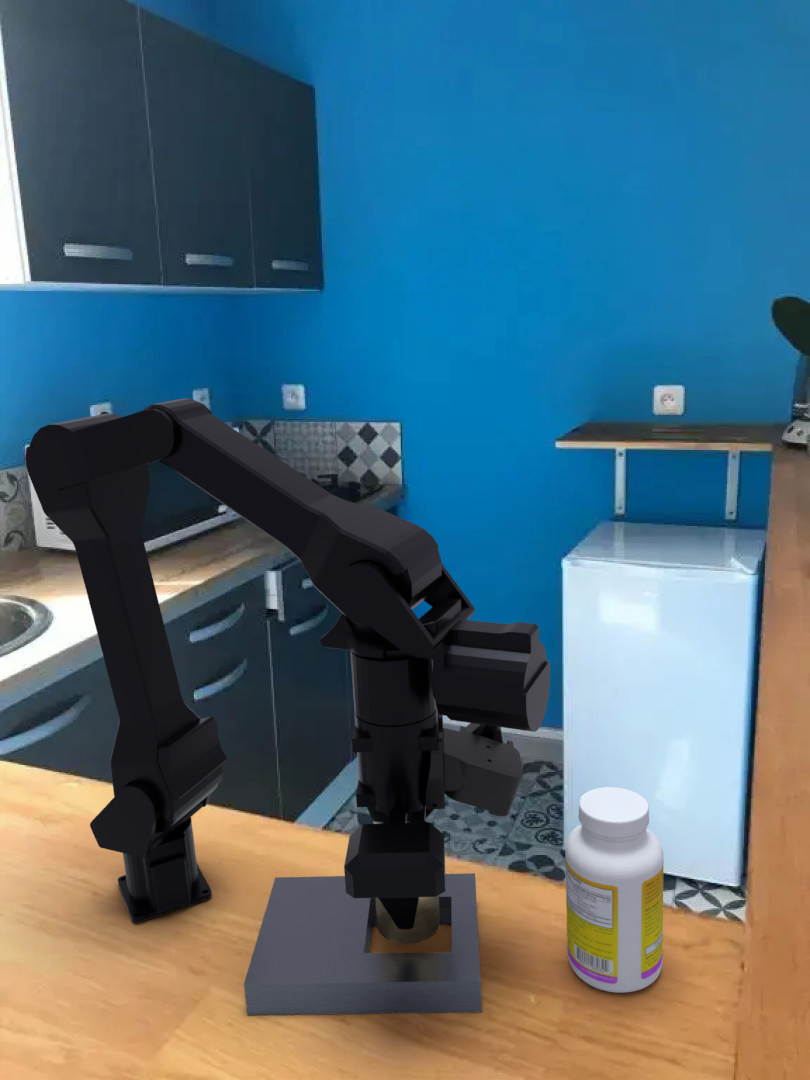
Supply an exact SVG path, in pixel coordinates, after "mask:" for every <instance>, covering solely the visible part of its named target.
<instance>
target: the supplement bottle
mask: <svg viewBox="0 0 810 1080" xmlns="http://www.w3.org/2000/svg"><path fill="white" fill-rule="evenodd" d="M578 821H579V822H580V824H578V825H577V826H576V827H575V828H573V830H572V831H571V832H570V833H569V835H568V837H567V839H566V842H565V848H564V849H565V850H564V851H565V852H564V853H565V856H564V858H565V861H564V862H565V895H566V896H565V897H566V899H565V901H566V905H565V907H566V944H567V945H566V946H567V948H566V949H567V958H568V962H569V964H570V967H571V969H572V970H573V972H574V973H575V974H576V975H577V976H578V977H579V979H581V980H582V981H583V982H585V983H586V984H588V985H589V986H591V987H594V989H595V988H596V989H598V990H601V991H604V992H609V993H617V994H618V993H620V994H621V993H631V992H636V991H641V990H642V989H645V988H647V987H648V986H650V985H651V984H652V983H654V982H655V981H656V980H657V978H658V977H659V975H660V974H661V971H662V966H663V956H664V953H663V951H664V849H663V845H662V843H661V841H660V840H659V838H658V837H657V836H656V834H655V833H654V832H653V831H652V830H651V829H649V828H648V826H649V823H650V806H649V803H648V800H646V799H645V797H644V796H642V795H641V794H639V793H637V792H636V791H633V790H631V789H628V788H623V787H617V786H616V787H614V786H606V787H605V786H604V787H598V788H594V789H591V790H588V791H587V792H584V794H582V795H581V797H580V798H579V800H578Z"/></svg>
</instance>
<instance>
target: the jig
mask: <svg viewBox="0 0 810 1080" xmlns="http://www.w3.org/2000/svg"><path fill="white" fill-rule="evenodd" d="M269 894H270V895H269V898H268V901H267V903H266V907H265V910H264V914H263V917H262V921H261V924H260V928H259V931H258V935H257V938H256V942H255V945H254V948H253V953H252V955H251V959H250V962H249V966H248V969H247V973H246V976H245V979H244V983H243V988H244V998H245V1006H246V1015H247V1016H283V1015H285V1016H287V1015H288V1016H289V1015H291V1016H294V1015H295V1016H296V1015H298V1016H299V1015H358V1014H359V1015H362V1014H436V1013H437V1014H440V1013H441V1014H446V1013H451V1014H452V1013H454V1014H455V1013H457V1014H458V1013H482V1008H483V1007H482V988H481V986H482V985H481V983H482V981H481V965H480V961H481V960H480V944H479V943H480V941H479V924H478V922H479V921H478V907H477V906H478V905H477V904H478V903H477V883H476V873H473V872H472V873H471V872H470V873H467V872H466V873H445V892H443V893H441V894H440V895H439V912H440V926H451V951H422V952H421V951H419V952H418V951H417V952H416V951H415V952H413V951H411V952H371V951H370V950H371V949H370V948H371V943H372V941H371V940H372V934H373V927H377V913H376V899H375V898H353V897H351V896H350V895H348V894H347V893H346V886H345V875H332V876H329V875H328V876H325V875H324V876H286V877H285V876H284V877H282V876H281V877H279V876H278V877H274V880H273V884H272V887H271V890H270V893H269Z"/></svg>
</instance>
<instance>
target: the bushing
mask: <svg viewBox="0 0 810 1080" xmlns="http://www.w3.org/2000/svg"><path fill="white" fill-rule="evenodd" d="M407 823H410V821H407ZM375 899H376V913H377V926H376V927H377V930H378V932H379V934H380V935H381V936H382V937H383V938H384V939H386V940H387V941H389V942H392V943H395V944H399V945H413V944H418V943H422V942H425V941H427V940H428V939H430V938H432V937H434V935H435V934H436V933H437V932H438V931H439V928H440V926H441V925H440V912H439V895H438V896H437V897H419V901H418V906H417V911H416V917H415V922H414V927H413V928H412V929H399V928H397V926H396V925H395V923H394V922H393V920H392V918H391V917H390V915H389V914H388V912H387V911H386V909H385V908H384V906H383V905H382V903H381V902H380V900H379V898H375Z"/></svg>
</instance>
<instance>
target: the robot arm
mask: <svg viewBox="0 0 810 1080" xmlns="http://www.w3.org/2000/svg"><path fill="white" fill-rule="evenodd" d="M24 458H25V466H26V470H27V474H28V477H29V479H30V481H31V484H32V486H33V489H34V492H35V493H36V496H37V499H38V501H39V505H40V506H41V508H42V511H43V512H44V513H43V514H45V516H47V518H48V519H49V520H50V521H51V522H52V523H53V524H54V525H55V526H56V527H57V528H58V529H59V530H60V531H61V532H62V533H63V534H64V535H65V536H66V537H67V538H68V539H69V540H70V541H71V543H72V544H73V546H74V549H75V553H76V556H77V561H78V564H79V568H80V571H81V576H82V580H83V583H84V588H85V590H86V595H87V599H88V601H89V603H88V604H89V607H90V611H91V615H92V618H93V621H94V622H93V623H94V625H95V629H96V634H97V638H98V641H99V644H100V649H101V652H102V656H103V660H104V663H105V664H104V665H105V668H106V672H107V675H108V679H109V685H110V687H111V691H112V696H113V699H114V703H115V706H116V710H117V714H118V727H117V731H116V735H115V740H114V743H113V748H112V752H111V756H110V760H109V763H110V773H111V781H112V788H113V789H112V790H113V796H114V797H113V798H112V799H111V800H110V801H109V802H108V803H107V804H106V805H105V807H104V808H102V810H101V811H100V812H98V814H97V815H96V816H95V817H94V818H93V819H92V820H91V822H90V824H89V827H90V830H91V832H92V834H93V836H94V839H95V841H96V843H97V845H98V847H99V848H100V849H104V850H109V851H112V852H116V853H117V852H118V853H121V854H122V857H123V858H122V859H123V865H124V871H125V874H124V875H121V876H119V877H118V878H117V885H118V888H119V891H120V894H121V896H122V898H123V902H124V904H125V907H126V909H127V912H128V914H129V918H130V919H131V922H132V923H135V924H137V923H141V922H143V921H148V920H150V919H153V918H156V917H159V916H162V915H164V914H168V913H171V912H173V911H177V910H180V909H183V908H186V907H189V906H192V905H194V904H197V903H201V902H204V901H207V900H209V899H211V898H212V896H213V893H212V889H211V886H210V885H209V883H208V880H206V878H205V875H204V874H203V871H202V870H201V868H200V866H199V865H198V862H197V856H196V855H197V854H196V848H195V847H196V846H195V839H194V838H195V837H194V832H193V821H192V817H193V816H194V815H195V814H197V812H198V811H200V810H201V809H202V808H205V807H206V806H208V805H209V803H210V799H211V795H212V794H213V792H214V791H215V790H216V788H217V787H218V786H219V783H220V782H221V781H222V779H223V774H224V772H223V764H225V763H226V762H227V761H228V757H227V756H226V754H225V752H224V750H223V748H222V745H221V742H220V738H219V729H218V728H219V726H218V723H217V721H216V719H215V717H213V716H207V717H204V718H201V717H200V716H199V715H198V714H196V713H195V711H193V710H192V709H191V708H190V707H189V706H188V704H186V703H185V702H184V699H183V697H182V693H181V692H182V691H181V689H180V684H179V680H178V676H177V673H176V672H177V671H176V667H175V663H174V660H173V656H172V651H171V648H170V643H169V638H168V634H167V631H166V627H165V622H164V618H163V615H162V614H163V613H162V611H161V607H160V603H159V600H158V599H159V597H158V594H157V591H156V587H155V582H154V578H153V574H152V571H151V566H150V561H149V559H148V558H149V557H148V554H147V550H146V546H145V542H144V537H143V534H142V522H143V518H144V513H145V510H146V507H147V502H148V499H149V493H150V491H151V485H150V482H151V481H150V473H149V472H150V471H149V465H151V464H154V463H157V462H159V463H162V464H164V465H166V466H167V467H169V468H170V469H172V470H173V471H175V472H176V473H178V474H179V475H180V476H181V477H183V478H185V479H186V480H187V481H189V482H190V483H192V484H193V485H194V486H196V487H198V488H199V489H200V490H202V491H203V492H205V493H206V494H208V495H209V496H211V497H212V498H214V499H215V500H217V501H218V502H219V503H221V504H222V505H224V506H225V507H227V508H228V509H230V510H231V511H232V512H234V513H235V514H236V515H238V516H240V517H241V518H243V519H244V520H245V521H247V522H248V523H250V524H251V525H253V526H254V527H255V528H257V529H259V530H260V531H261V532H263V533H265V535H267V536H269V537H270V538H272V539H273V540H275V541H276V542H278V543H279V544H280V545H282V546H283V547H284V548H287V550H288V551H290V552H291V553H292V554H293V555H294V556H295V557H296V558H297V559H298V560H299V561H300V562H301V564H302V566H303V568H304V570H305V571H306V574H307V576H308V578H309V580H310V581H311V583H312V585H313V587H314V588H315V589H316V590H317V591H318V592H319V593H320V594H321V595H322V596H323V597H324V598H326V599H327V600H328V601H329V603H331V605H333V606H334V607H335V608H336V609H337V610H338V611H339V612H340V613H341V614H340V615H339V617H338V619H337V621H336V623H334V625H333V626H332V627H331V628H330V630H328V631H327V632H326V633H325V634H324V635H322V636H321V637H320V639H319V645H320V646H321V647H322V648H327V649H335V650H344V651H349V652H350V653H349V654H350V664H351V665H350V668H351V680H352V681H351V683H352V694H353V707H354V723H355V724H354V728H353V732H352V737H351V743H352V753H356V754H357V769H358V781H357V788H356V793H355V799H356V800H355V801H356V808H366V809H367V811H368V813H369V816H370V819H371V820H372V822H373V823H362V824H361V825H360V826H359V827H358V828H357V829H355V831H354V832H352V834H351V835H349V837H348V844H347V849H346V855H345V861H344V866H343V871H344V876H345V886H346V893H347V894H348V895H350V896H351V897H353V898H379V900H380V902H381V903H382V905H383V906H384V908H385V909H386V911H387V912H388V914H389V915H390V917H391V918H392V920H393V922H394V923H395V925H396V926H397V928H399V929H412V928H413V927H414V922H415V917H416V911H417V906H418V901H419V897H437V896H438V895H440V894H441V893H443V892H445V874H446V843H445V842H446V841H445V834H444V833H443V832H442V831H440V829H438V828H437V827H436V826H435V824H433V823H431V822H428V821H426V820H427V818H428V817H429V816H430V815H431V814H432V813H433V812H434V810H446V796H447V797H448V798H449V799H451V800H453V801H456V802H457V803H462V804H465V805H469V806H471V807H475V808H479V809H482V810H485V811H488V813H489V814H490V815H493V816H496V817H506V816H508V815H510V811H511V808H512V806H513V803H514V800H515V797H516V796H517V792H518V790H519V786H520V784H521V781H522V778H523V776H524V771H523V764H522V758H521V753H520V751H519V750H518V749H517V748H516V747H514V745H515V744H514V741H512V740H509V739H508V740H507V742H506V743H505V742H504V739H503V733H502V728H506V729H512V730H517V731H518V730H520V731H524V732H525V731H527V732H537V731H538V730H539V729H540V727H541V725H542V723H543V721H544V718H545V715H546V712H547V707H548V702H549V697H550V686H551V662H550V661H549V660H548V657H547V652H546V648H545V645H544V644H543V643H542V642H541V641H540V627H539V626H538V624H537V623H531V622H520V621H519V622H518V621H517V622H513V623H512V622H511V623H502V622H501V623H500V622H491V621H490V622H488V621H481V620H478V621H477V620H470V618H471V617H472V616H473V615H474V614H475V612H476V608H475V607H474V605H473V604H472V603H471V601H470V599H468V597H467V596H466V594H465V593H464V592H463V591H462V589H461V588H460V586H459V585H458V584H457V581H455V579H454V578H453V577H452V576H451V574H450V572H449V571H448V570H447V569H446V567H445V565H444V564H443V563H442V558H441V555H440V551H439V548H440V547H439V544H438V543H437V541H436V539H435V538H434V537H433V535H431V534H430V533H429V532H428V531H427V530H426V529H424V528H423V527H422V526H419V525H418V524H415V523H413V522H411V521H409V520H407V519H404V518H402V517H400V516H397V515H395V514H393V513H390V512H388V511H386V510H383V509H381V508H377V507H373V506H369V505H364V504H360V503H357V502H356V503H355V502H352V501H349V500H346V499H344V498H341V497H339V496H337V495H335V494H333V493H330V492H329V491H327V489H325V488H323V487H322V486H320V485H319V484H317V483H316V482H314V481H313V480H311V479H310V478H308V476H307V477H306V475H304V474H303V473H301V472H299V471H298V470H296V469H295V468H293V467H292V466H290V465H288V464H287V463H286V462H284V461H282V460H281V459H279V458H278V457H277V456H275V455H274V454H272V453H271V452H269V451H267V450H266V449H265V448H263V447H262V446H261V445H258V444H257V443H255V442H254V441H253V440H251V439H249V438H248V437H247V436H246V435H244V434H242V433H241V432H239V431H238V430H236V429H234V428H233V427H231V426H230V425H229V424H227V423H225V422H224V421H222V420H221V419H220V418H218V417H217V416H215V415H213V413H212V411H211V410H210V409H209V408H208V407H207V406H206V405H205V404H204V403H202V402H199V401H198V400H195V399H193V398H178V399H174V400H168V401H162V402H159V403H158V402H157V403H153V404H150V405H149V406H146V407H144V408H142V410H140V411H137V412H134V413H132V414H128V415H125V416H121V415H118V414H117V413H102V414H96V415H92V416H87V417H86V416H85V417H81V418H76V419H71V420H66V421H59V422H56V423H55V422H54V423H49V424H47V425H44V426H42V427H40V428H39V429H38V430H37V431H36V432H35V433H34V434H33V436H32V439H31V441H30V443H29V446H26V448H25V456H24ZM422 602H425V603H427V604H428V605H429V606H430V607H431V608H430V609H428V611H426V612H425V613H424V614H423V615H421V616H420V617H419V618H418V616H417V615H416V614H415V612H414V609H415V608H416V607H417V606H419V605H420V604H421V603H422ZM444 716H445V717H447V718H448V719H449V720H450V721H455V722H463V723H468V724H467V725H466V727H465V726H461V725H460V726H459V730H455V729H451V728H446V727H444ZM407 821H410V823H407Z"/></svg>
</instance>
